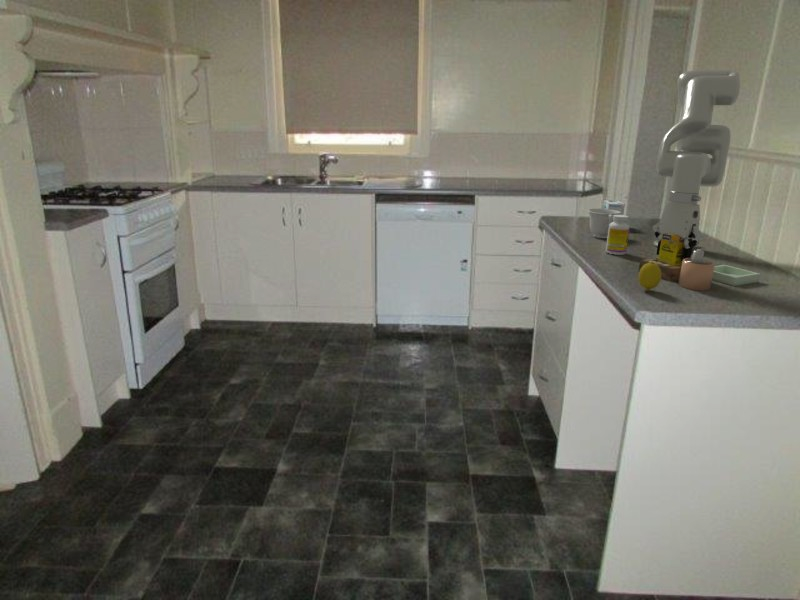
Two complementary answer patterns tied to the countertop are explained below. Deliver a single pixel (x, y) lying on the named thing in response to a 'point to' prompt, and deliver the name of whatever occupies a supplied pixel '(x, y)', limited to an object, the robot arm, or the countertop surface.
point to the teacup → (601, 221)
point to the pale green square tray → (734, 275)
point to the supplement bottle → (618, 235)
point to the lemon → (649, 275)
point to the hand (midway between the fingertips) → (672, 257)
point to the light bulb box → (614, 206)
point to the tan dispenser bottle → (696, 272)
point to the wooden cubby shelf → (664, 269)
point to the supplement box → (671, 250)
